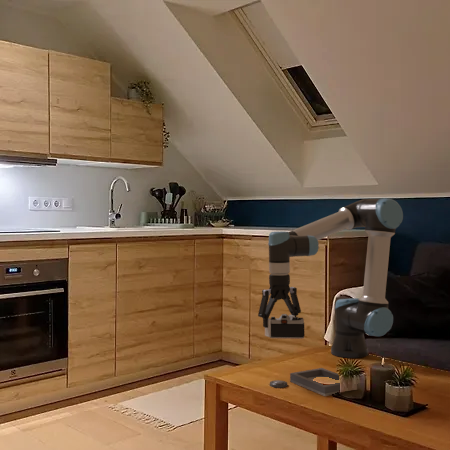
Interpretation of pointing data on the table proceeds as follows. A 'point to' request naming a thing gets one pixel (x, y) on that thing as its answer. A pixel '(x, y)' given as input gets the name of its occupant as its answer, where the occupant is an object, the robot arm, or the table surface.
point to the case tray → (307, 381)
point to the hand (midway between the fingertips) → (280, 334)
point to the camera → (287, 327)
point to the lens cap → (278, 384)
